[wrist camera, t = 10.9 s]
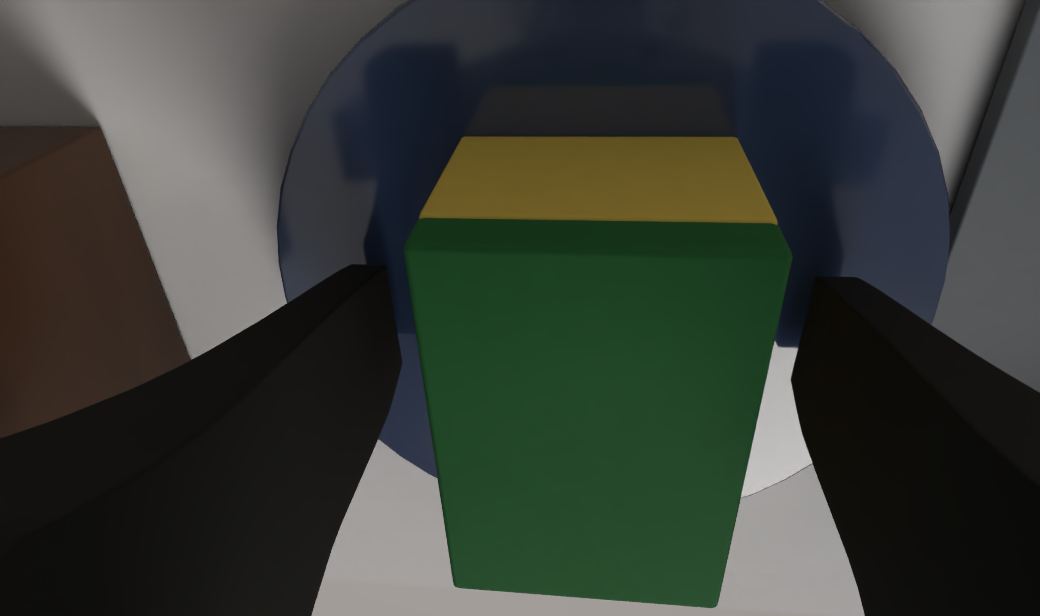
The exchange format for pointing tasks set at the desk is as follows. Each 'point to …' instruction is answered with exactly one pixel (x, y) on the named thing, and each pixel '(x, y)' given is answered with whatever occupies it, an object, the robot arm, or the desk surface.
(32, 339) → the brown wooden block
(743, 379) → the sponge
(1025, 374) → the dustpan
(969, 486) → the robot arm
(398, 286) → the plate
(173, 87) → the desk surface
